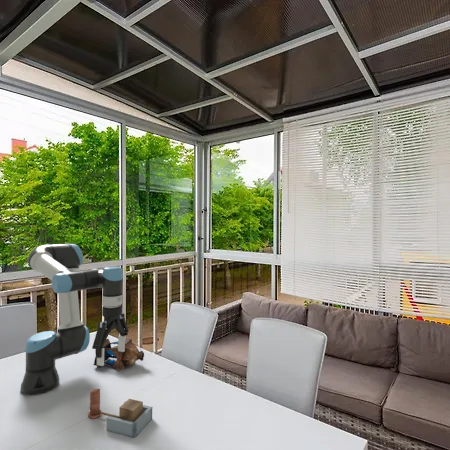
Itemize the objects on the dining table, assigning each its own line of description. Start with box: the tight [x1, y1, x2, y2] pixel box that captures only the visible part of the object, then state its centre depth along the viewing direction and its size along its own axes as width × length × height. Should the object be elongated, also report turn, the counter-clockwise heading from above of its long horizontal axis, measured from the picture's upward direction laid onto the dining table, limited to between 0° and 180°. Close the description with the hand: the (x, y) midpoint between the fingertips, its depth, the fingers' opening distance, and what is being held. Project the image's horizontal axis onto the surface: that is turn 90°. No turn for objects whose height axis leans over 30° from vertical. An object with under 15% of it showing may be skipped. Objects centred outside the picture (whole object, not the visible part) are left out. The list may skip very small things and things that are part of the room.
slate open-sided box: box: [105, 400, 153, 438], centre depth 117 cm, size 12×11×4 cm
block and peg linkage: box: [87, 388, 144, 422], centre depth 119 cm, size 22×6×9 cm, turn 72°
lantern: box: [93, 338, 145, 371], centre depth 164 cm, size 16×16×25 cm
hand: (111, 357), depth 126 cm, fingers open, 13 cm apart
